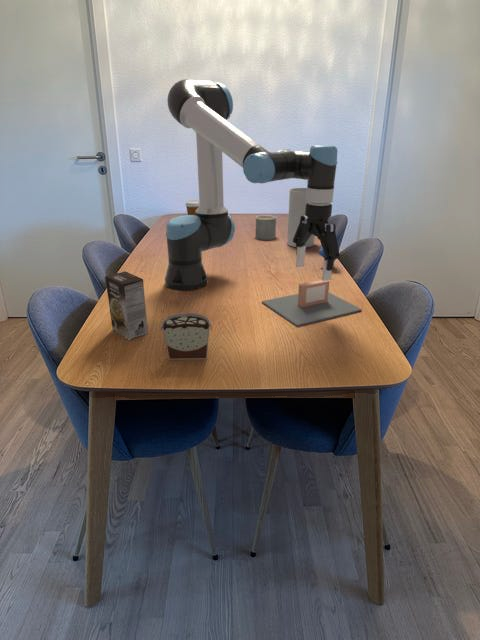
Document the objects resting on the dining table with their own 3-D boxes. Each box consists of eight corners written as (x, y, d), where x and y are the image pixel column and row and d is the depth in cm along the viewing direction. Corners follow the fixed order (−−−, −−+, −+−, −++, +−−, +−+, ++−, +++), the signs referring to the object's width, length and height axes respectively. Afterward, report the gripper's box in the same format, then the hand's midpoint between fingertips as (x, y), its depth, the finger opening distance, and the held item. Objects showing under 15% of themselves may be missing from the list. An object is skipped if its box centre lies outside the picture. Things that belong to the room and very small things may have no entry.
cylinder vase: (285, 247, 200) (287, 191, 189) (289, 240, 211) (291, 187, 200) (312, 249, 197) (316, 192, 187) (315, 242, 208) (318, 188, 198)
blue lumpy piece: (313, 262, 179) (316, 233, 174) (330, 261, 180) (332, 233, 175) (320, 271, 169) (322, 240, 164) (337, 270, 169) (340, 240, 164)
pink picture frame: (323, 299, 141) (325, 279, 138) (327, 301, 139) (329, 281, 136) (297, 305, 136) (298, 284, 133) (301, 307, 135) (303, 286, 132)
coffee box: (111, 330, 122) (103, 275, 115) (131, 323, 126) (125, 270, 119) (128, 340, 116) (121, 284, 109) (149, 333, 120) (143, 278, 113)
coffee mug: (276, 239, 212) (277, 219, 208) (256, 240, 212) (257, 219, 207) (272, 233, 224) (273, 213, 220) (253, 233, 224) (253, 214, 219)
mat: (297, 326, 124) (297, 324, 123) (261, 302, 140) (261, 301, 139) (361, 311, 134) (361, 309, 133) (321, 290, 150) (321, 288, 149)
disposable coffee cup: (184, 222, 248) (183, 201, 243) (201, 221, 250) (200, 200, 245) (188, 226, 240) (187, 203, 234) (205, 224, 242) (204, 203, 237)
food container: (213, 347, 113) (212, 311, 108) (212, 359, 107) (211, 322, 103) (165, 347, 112) (163, 312, 108) (162, 359, 107) (159, 323, 102)
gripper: (358, 210, 116) (348, 284, 125) (304, 195, 136) (299, 260, 145) (336, 212, 113) (328, 288, 122) (284, 196, 133) (280, 263, 142)
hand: (312, 273), depth 134 cm, fingers open, 13 cm apart
